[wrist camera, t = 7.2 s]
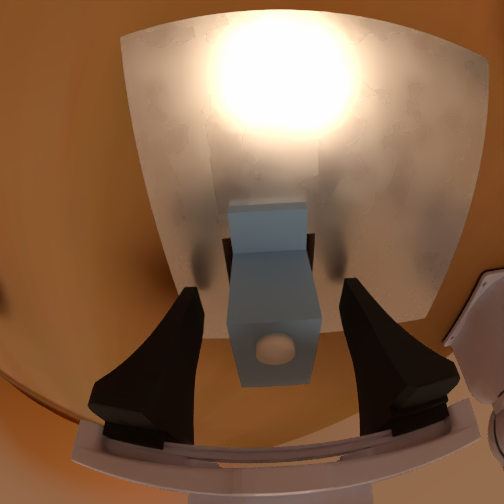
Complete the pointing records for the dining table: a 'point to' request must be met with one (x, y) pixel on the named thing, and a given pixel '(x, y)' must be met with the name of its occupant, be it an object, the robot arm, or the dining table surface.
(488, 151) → the dining table surface
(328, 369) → the dining table surface
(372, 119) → the silver flat plate
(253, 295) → the servo
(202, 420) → the dining table surface
